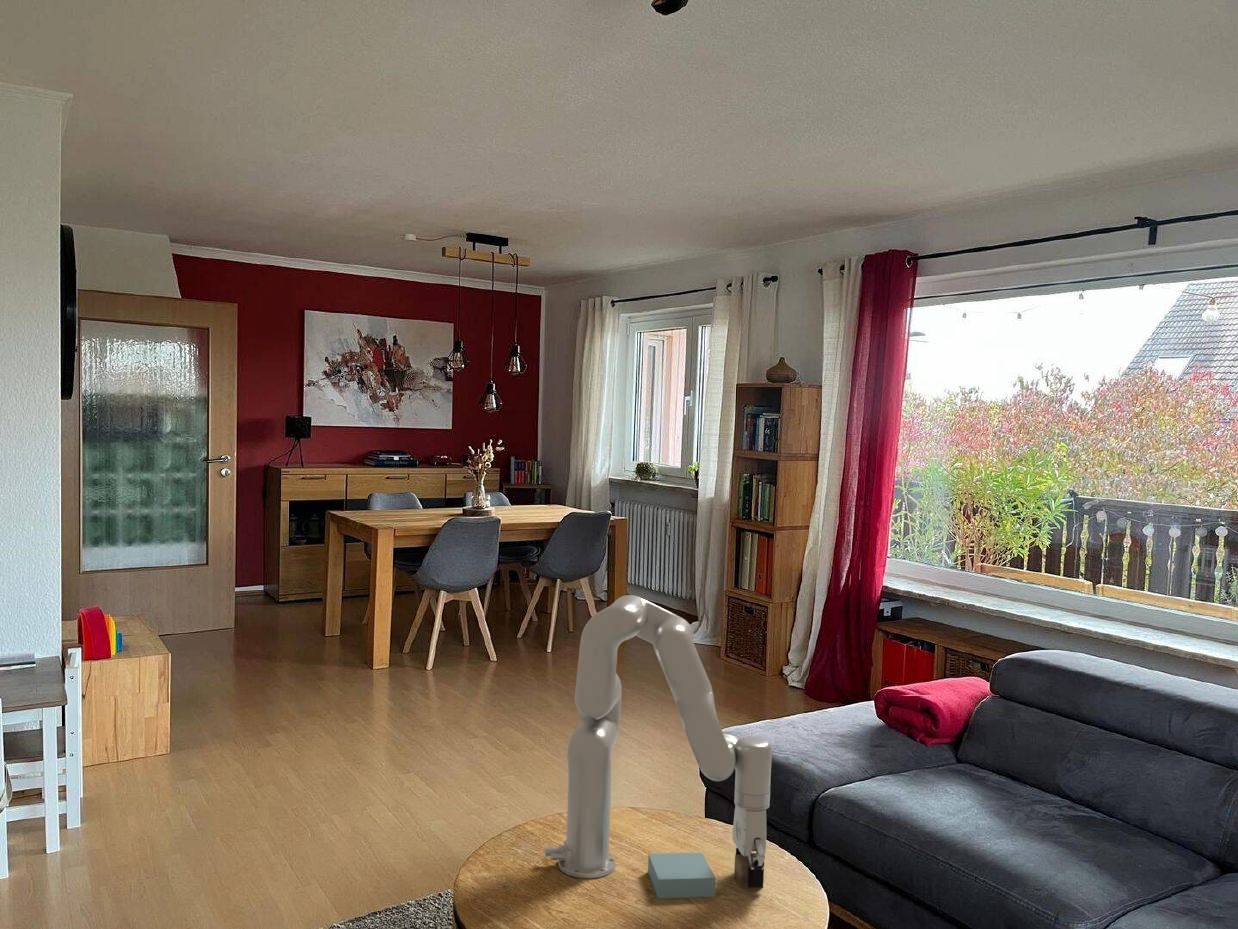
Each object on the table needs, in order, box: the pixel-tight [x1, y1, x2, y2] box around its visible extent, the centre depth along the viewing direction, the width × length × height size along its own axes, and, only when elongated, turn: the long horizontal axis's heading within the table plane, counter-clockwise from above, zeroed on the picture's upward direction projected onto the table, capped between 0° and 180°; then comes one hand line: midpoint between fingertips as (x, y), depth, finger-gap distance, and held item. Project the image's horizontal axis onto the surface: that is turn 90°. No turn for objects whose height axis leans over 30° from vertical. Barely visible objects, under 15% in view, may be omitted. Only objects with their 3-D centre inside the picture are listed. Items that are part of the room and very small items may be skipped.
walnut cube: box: [733, 854, 765, 889], centre depth 202 cm, size 5×5×5 cm
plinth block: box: [647, 852, 716, 900], centre depth 200 cm, size 12×12×4 cm
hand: (748, 876), depth 202 cm, fingers open, 9 cm apart
